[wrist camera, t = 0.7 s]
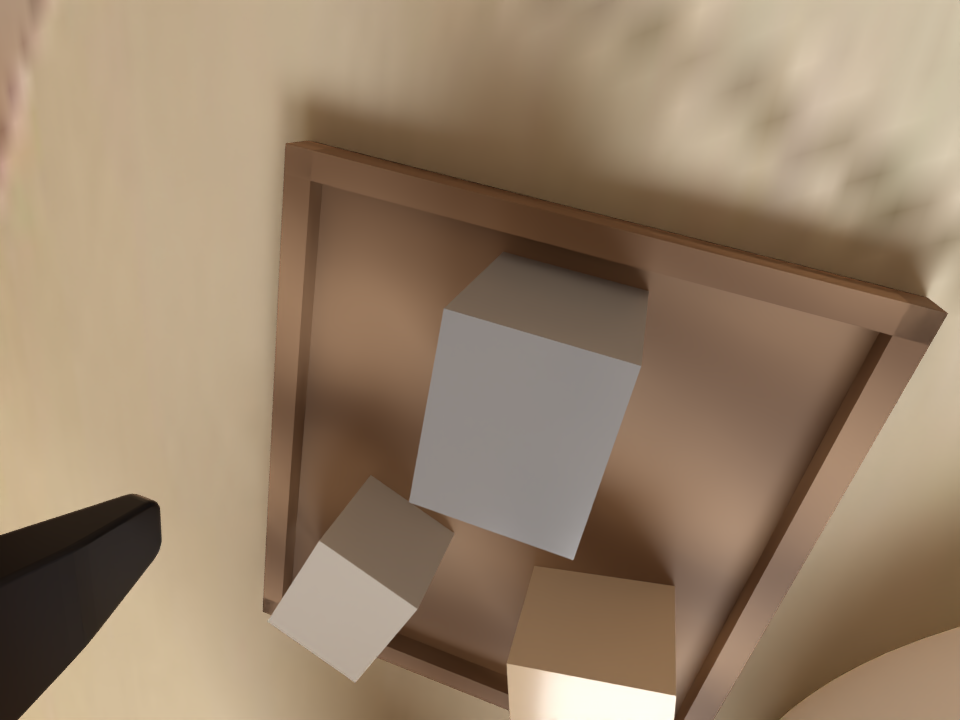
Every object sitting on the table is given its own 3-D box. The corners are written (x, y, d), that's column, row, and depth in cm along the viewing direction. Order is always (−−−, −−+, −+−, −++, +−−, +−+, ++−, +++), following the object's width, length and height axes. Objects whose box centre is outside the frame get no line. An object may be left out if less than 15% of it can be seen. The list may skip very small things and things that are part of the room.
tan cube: (667, 677, 21) (667, 796, 17) (537, 653, 22) (512, 760, 19) (674, 586, 19) (676, 696, 16) (534, 565, 21) (506, 663, 17)
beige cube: (397, 604, 23) (355, 682, 20) (321, 550, 23) (267, 621, 20) (454, 533, 21) (417, 609, 18) (370, 475, 21) (319, 540, 18)
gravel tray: (678, 746, 23) (679, 778, 22) (279, 590, 25) (262, 611, 24) (927, 297, 15) (947, 313, 14) (309, 140, 17) (285, 143, 16)
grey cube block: (596, 447, 18) (573, 560, 14) (469, 406, 19) (409, 502, 14) (648, 291, 16) (641, 366, 12) (503, 251, 17) (443, 308, 12)
